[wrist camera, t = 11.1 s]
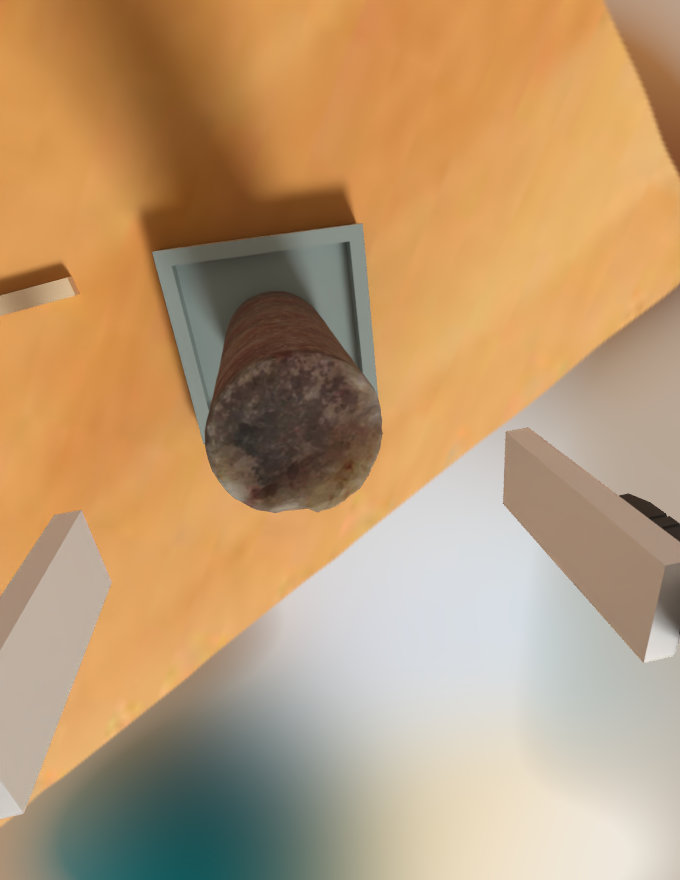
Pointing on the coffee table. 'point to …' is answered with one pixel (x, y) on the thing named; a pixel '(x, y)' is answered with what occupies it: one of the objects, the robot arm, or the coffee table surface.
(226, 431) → the dark brown cylinder
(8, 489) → the coffee table surface
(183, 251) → the dish
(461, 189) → the coffee table surface
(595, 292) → the coffee table surface
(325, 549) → the coffee table surface
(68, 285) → the beige wooden bar
